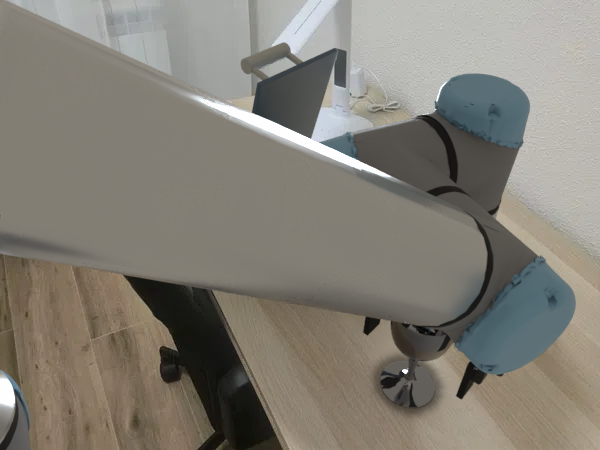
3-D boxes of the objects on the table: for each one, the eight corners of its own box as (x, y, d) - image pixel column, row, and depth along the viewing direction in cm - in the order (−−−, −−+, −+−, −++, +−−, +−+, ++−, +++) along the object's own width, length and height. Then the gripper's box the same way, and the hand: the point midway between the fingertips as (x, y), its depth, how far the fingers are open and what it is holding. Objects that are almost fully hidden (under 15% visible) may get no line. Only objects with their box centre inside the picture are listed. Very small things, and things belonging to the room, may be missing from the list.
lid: (338, 50, 79) (301, 23, 81) (261, 86, 70) (221, 54, 72) (306, 153, 94) (276, 128, 97) (240, 193, 85) (208, 164, 88)
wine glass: (415, 423, 68) (439, 348, 58) (364, 384, 72) (379, 308, 62) (449, 382, 72) (477, 307, 63) (399, 348, 76) (418, 272, 67)
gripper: (589, 272, 51) (523, 398, 65) (370, 164, 63) (354, 290, 77) (557, 319, 46) (493, 443, 60) (328, 194, 59) (319, 321, 73)
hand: (415, 358), depth 69 cm, fingers open, 13 cm apart
